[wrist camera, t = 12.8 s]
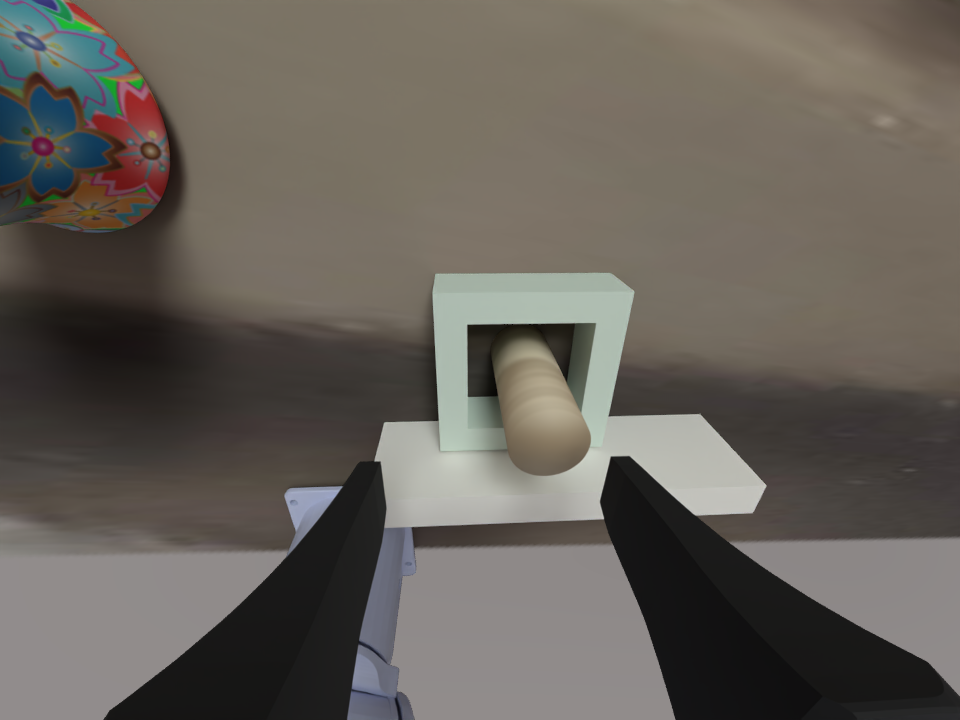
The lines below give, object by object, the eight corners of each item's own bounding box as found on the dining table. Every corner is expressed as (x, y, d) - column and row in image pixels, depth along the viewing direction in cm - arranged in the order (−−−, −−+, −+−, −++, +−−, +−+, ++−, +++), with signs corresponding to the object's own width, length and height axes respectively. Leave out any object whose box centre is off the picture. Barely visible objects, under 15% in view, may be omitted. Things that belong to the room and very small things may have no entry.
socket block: (585, 414, 24) (601, 446, 21) (442, 417, 24) (440, 451, 21) (610, 273, 20) (634, 291, 17) (435, 273, 19) (432, 293, 17)
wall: (691, 438, 26) (752, 512, 20) (387, 447, 24) (369, 528, 19) (699, 414, 25) (766, 485, 19) (384, 422, 23) (363, 500, 18)
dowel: (544, 373, 22) (584, 474, 15) (489, 375, 22) (505, 477, 15) (549, 323, 21) (597, 410, 14) (491, 324, 21) (509, 412, 14)
